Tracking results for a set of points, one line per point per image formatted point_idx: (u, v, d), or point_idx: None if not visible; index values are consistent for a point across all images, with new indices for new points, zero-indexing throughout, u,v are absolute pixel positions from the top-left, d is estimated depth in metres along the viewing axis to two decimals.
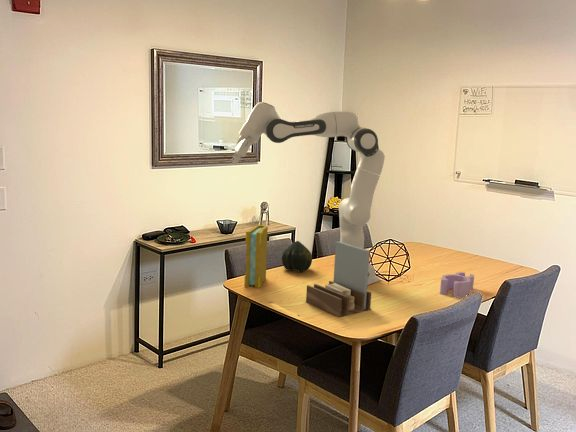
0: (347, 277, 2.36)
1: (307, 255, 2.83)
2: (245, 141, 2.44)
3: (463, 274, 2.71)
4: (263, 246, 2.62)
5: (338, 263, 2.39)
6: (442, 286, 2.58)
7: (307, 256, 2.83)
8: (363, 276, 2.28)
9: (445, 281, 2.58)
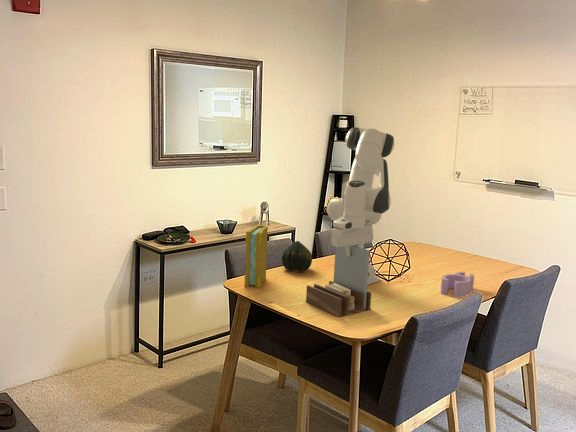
0: (347, 277, 2.36)
1: (307, 255, 2.83)
2: None
3: (463, 274, 2.71)
4: (263, 246, 2.62)
5: (338, 263, 2.39)
6: (443, 286, 2.59)
7: (307, 256, 2.83)
8: (363, 276, 2.28)
9: (446, 281, 2.59)
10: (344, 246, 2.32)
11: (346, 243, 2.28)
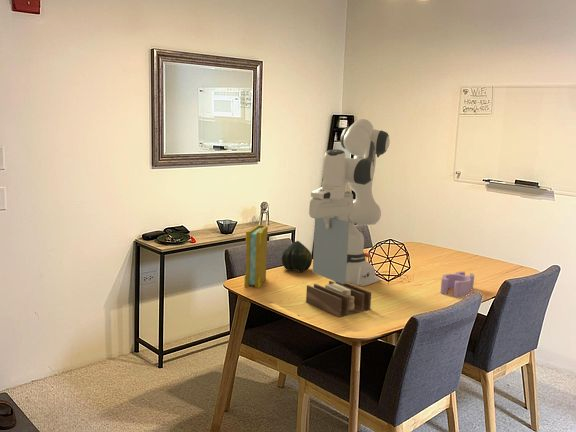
0: (326, 251, 2.26)
1: (307, 255, 2.83)
2: None
3: (463, 273, 2.72)
4: (263, 246, 2.62)
5: (318, 236, 2.30)
6: (443, 286, 2.59)
7: (307, 256, 2.83)
8: (343, 249, 2.19)
9: (446, 281, 2.59)
10: (323, 218, 2.22)
11: (325, 214, 2.19)
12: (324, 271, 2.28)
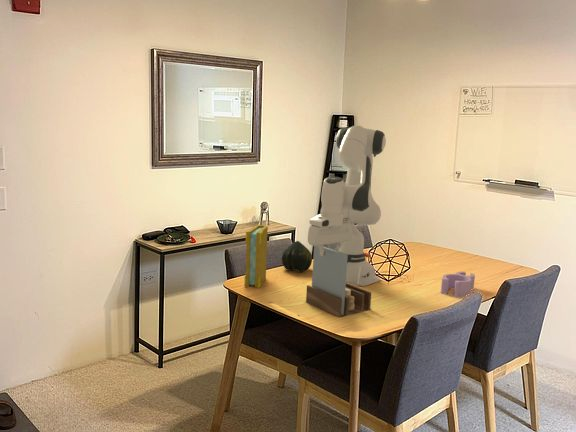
0: (325, 281, 2.29)
1: (307, 255, 2.83)
2: None
3: (464, 273, 2.72)
4: (263, 246, 2.62)
5: (316, 267, 2.32)
6: (443, 285, 2.59)
7: (307, 256, 2.83)
8: (341, 280, 2.21)
9: (446, 280, 2.59)
10: (317, 245, 2.23)
11: (323, 241, 2.21)
12: None
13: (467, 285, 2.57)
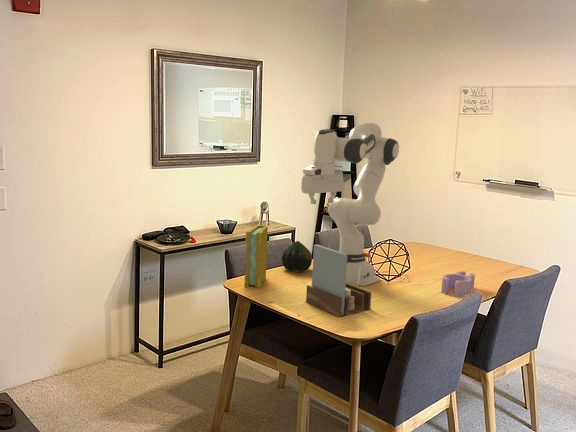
0: (325, 281, 2.29)
1: (307, 255, 2.83)
2: None
3: (464, 273, 2.72)
4: (263, 246, 2.62)
5: (316, 267, 2.32)
6: (443, 285, 2.60)
7: (307, 256, 2.83)
8: (341, 280, 2.21)
9: (446, 280, 2.59)
10: None
11: (316, 190, 2.33)
12: None
13: (467, 285, 2.58)
